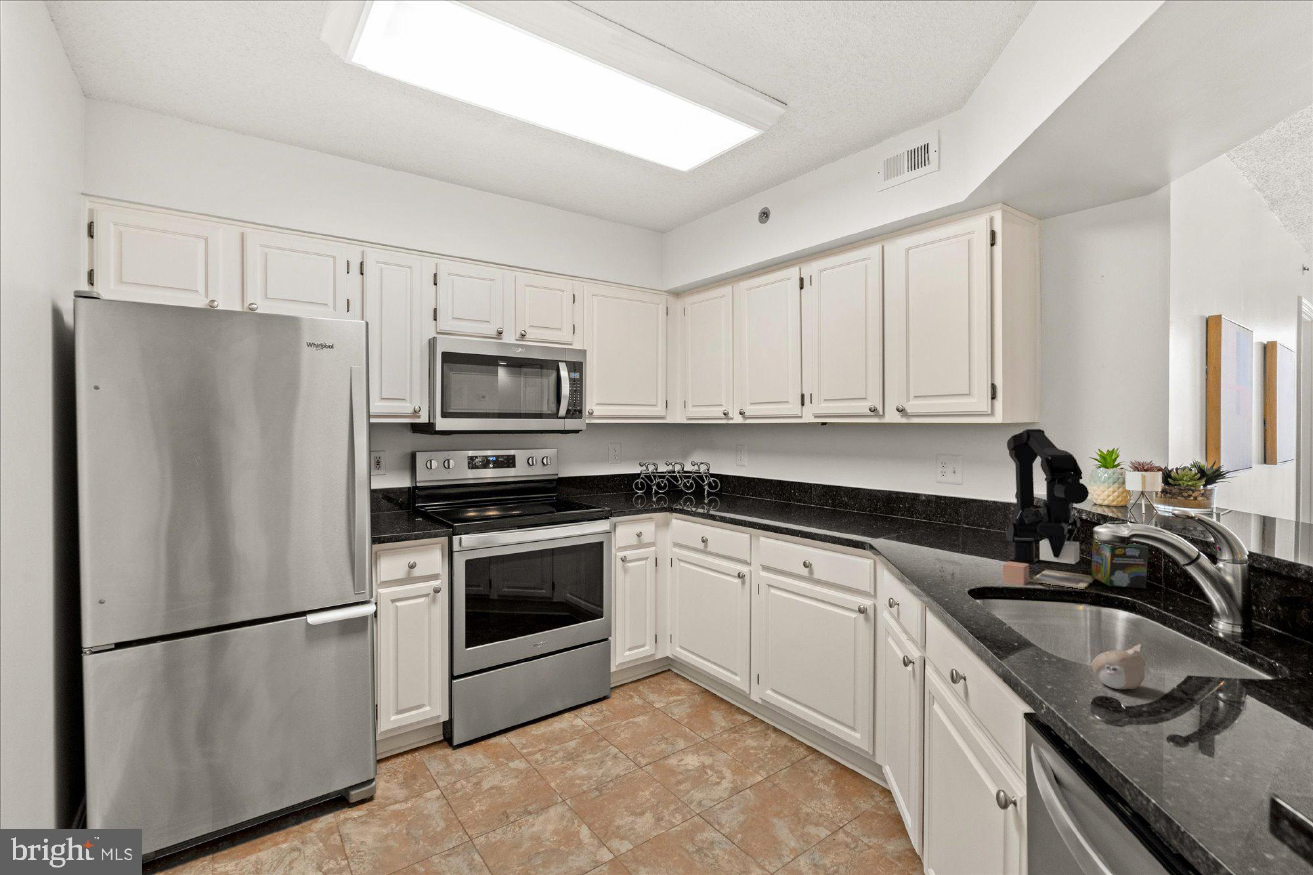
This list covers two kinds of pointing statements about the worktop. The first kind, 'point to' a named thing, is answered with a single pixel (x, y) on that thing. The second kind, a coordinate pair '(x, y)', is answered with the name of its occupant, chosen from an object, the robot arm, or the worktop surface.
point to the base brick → (1067, 554)
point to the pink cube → (1016, 573)
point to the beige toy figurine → (1120, 668)
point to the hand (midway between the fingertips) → (1059, 555)
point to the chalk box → (1120, 565)
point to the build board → (1063, 579)
